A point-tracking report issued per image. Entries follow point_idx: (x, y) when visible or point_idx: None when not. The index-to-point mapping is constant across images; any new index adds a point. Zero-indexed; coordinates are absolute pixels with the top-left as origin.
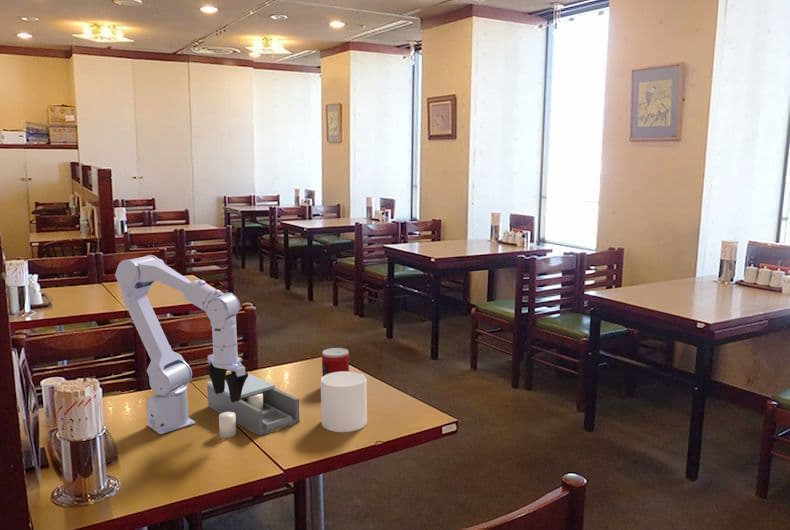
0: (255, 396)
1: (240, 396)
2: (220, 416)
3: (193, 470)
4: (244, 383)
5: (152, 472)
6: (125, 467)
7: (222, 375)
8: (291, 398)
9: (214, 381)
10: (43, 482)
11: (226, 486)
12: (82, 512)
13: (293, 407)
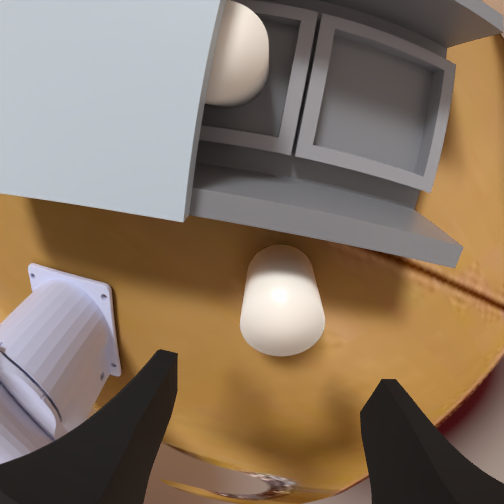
0: (243, 69)
1: (408, 397)
2: (267, 348)
3: (358, 423)
4: (44, 32)
5: (287, 453)
6: (225, 459)
7: (130, 470)
8: (471, 12)
9: (149, 470)
10: (180, 487)
11: (450, 409)
12: (297, 497)
13: (459, 30)
